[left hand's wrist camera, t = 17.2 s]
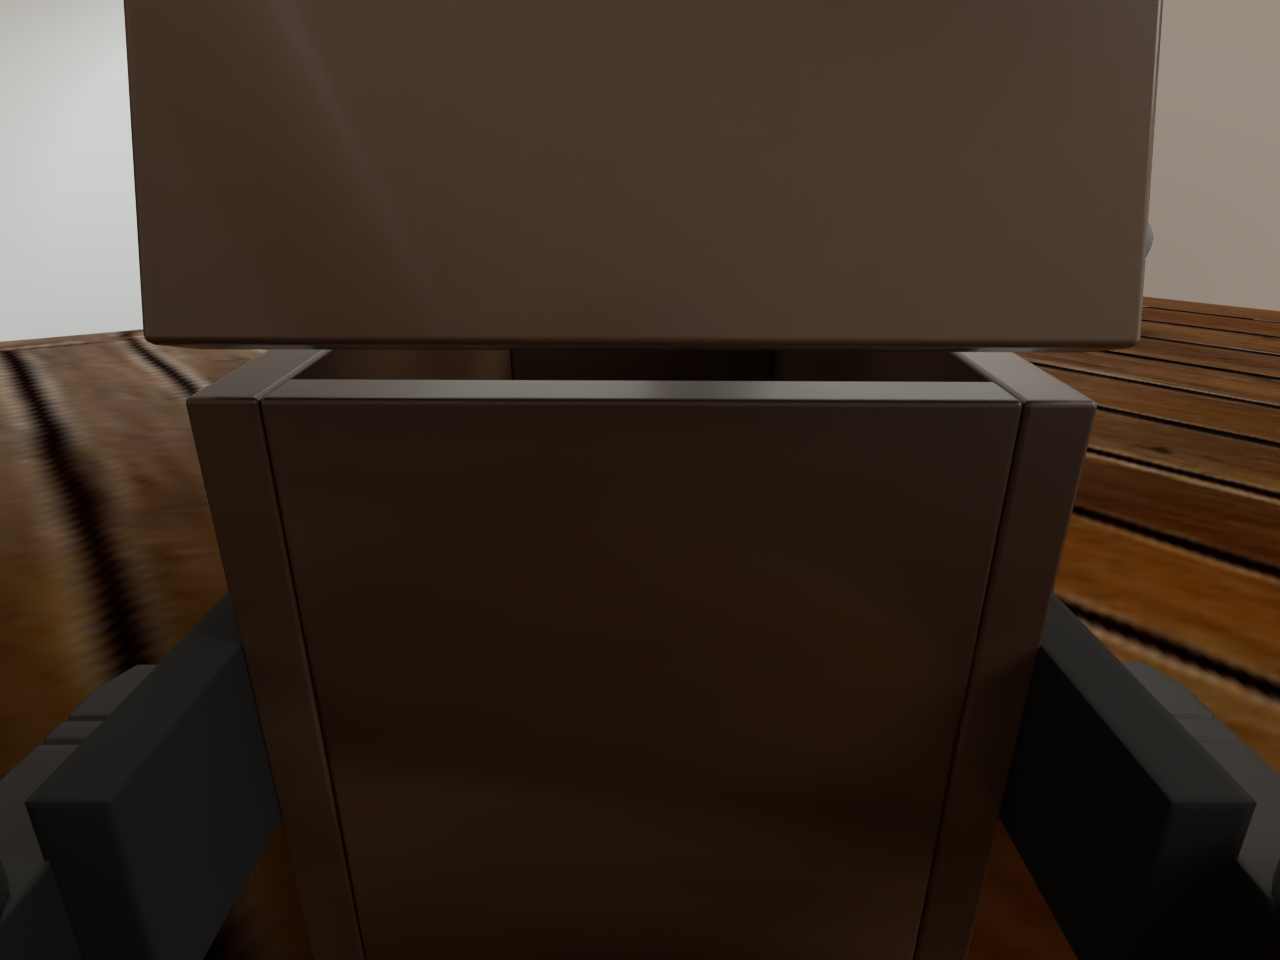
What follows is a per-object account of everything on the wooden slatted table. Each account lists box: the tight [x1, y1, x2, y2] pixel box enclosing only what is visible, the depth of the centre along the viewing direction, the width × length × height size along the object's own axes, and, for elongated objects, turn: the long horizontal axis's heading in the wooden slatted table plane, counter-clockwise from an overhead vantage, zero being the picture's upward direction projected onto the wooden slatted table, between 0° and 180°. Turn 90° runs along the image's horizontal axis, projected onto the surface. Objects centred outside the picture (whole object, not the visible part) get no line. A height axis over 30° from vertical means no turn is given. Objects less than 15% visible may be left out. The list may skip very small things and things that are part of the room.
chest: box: [186, 349, 1097, 960], centre depth 18 cm, size 17×9×11 cm, turn 0°
